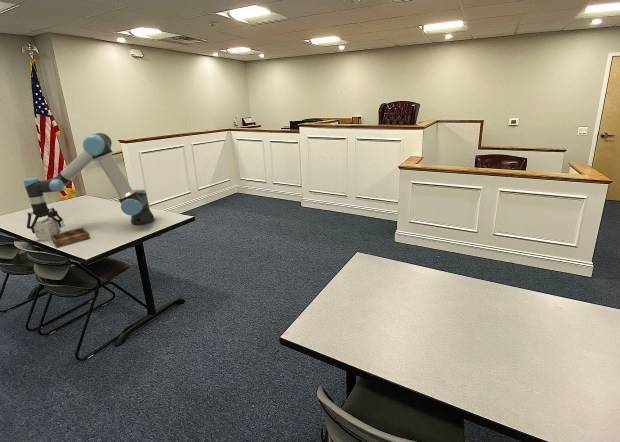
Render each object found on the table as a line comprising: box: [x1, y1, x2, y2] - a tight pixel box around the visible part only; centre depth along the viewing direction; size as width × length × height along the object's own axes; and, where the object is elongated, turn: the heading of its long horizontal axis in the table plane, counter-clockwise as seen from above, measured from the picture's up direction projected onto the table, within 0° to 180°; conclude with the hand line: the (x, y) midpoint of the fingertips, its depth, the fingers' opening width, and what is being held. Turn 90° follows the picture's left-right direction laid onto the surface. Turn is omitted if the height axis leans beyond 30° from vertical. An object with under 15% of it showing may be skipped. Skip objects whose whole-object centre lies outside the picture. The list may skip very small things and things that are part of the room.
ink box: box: [34, 216, 60, 242], centre depth 223 cm, size 9×8×13 cm
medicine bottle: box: [47, 210, 65, 229], centre depth 243 cm, size 7×7×12 cm
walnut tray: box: [50, 227, 91, 249], centre depth 220 cm, size 18×15×4 cm
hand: (48, 234), depth 225 cm, fingers closed on ink box, 11 cm apart
